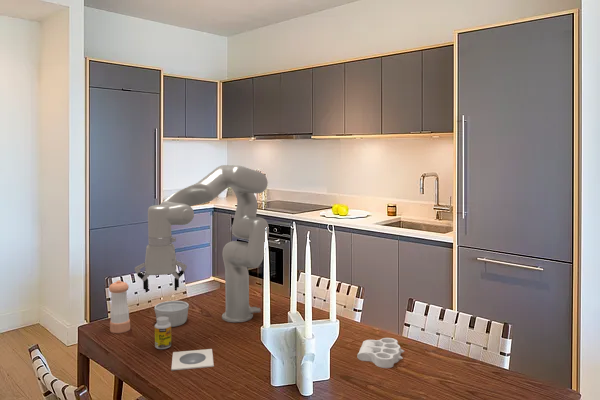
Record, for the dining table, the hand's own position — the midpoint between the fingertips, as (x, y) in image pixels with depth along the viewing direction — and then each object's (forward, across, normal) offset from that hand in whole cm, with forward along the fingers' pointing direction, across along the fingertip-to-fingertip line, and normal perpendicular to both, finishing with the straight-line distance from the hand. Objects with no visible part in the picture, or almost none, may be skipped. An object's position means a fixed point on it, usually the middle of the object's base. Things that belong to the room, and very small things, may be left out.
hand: (161, 290), depth 165 cm
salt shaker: (+20, +17, -20) cm, 33 cm away
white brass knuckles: (+21, -72, +23) cm, 78 cm away
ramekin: (+20, -2, -24) cm, 32 cm away
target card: (+20, -10, +13) cm, 26 cm away
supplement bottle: (+20, 0, 0) cm, 20 cm away
